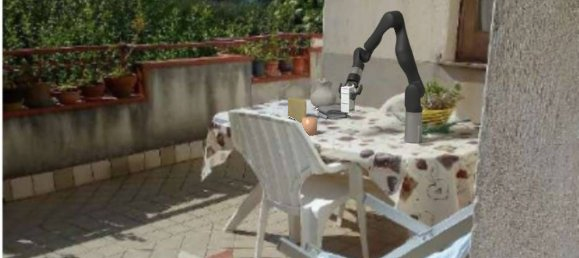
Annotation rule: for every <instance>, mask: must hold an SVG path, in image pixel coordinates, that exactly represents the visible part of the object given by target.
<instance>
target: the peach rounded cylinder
mask: <svg viewBox="0 0 579 258" xmlns="http://www.w3.org/2000/svg"><path fill="white" fill-rule="evenodd" d="M302 126H303V128H304V130H305V131H306V133H307V134H308V135H309V136H308V137H314V135H315V136H317V135H318V117H316V116H306V117H302V123H301V127H302Z"/></svg>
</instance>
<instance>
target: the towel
mask: <svg viewBox="0 0 579 258" xmlns="http://www.w3.org/2000/svg"><path fill="white" fill-rule="evenodd" d="M317 110H318V111H317V113H316V114H317V116H318V117H320V118H322V117H323V118H322V119H324V118H325V119H324V120H327V119H330V120H337V119H336V118H340V119H348V118H349V117H350V115H349V113H347V112H341V104H334V105H331V106H321V107H319V108H318V109H317Z"/></svg>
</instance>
